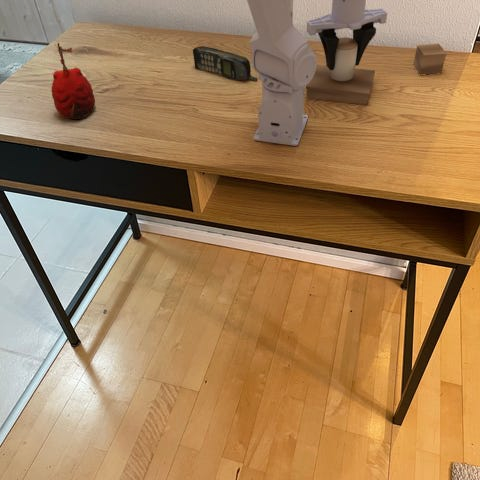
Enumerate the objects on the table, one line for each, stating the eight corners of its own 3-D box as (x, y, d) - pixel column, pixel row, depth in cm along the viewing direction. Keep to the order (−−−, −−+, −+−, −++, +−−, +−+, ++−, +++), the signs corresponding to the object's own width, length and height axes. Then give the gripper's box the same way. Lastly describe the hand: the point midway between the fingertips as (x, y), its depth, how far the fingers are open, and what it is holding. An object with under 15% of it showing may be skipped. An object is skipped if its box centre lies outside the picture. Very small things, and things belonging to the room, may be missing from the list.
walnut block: (441, 74, 103) (446, 53, 99) (419, 75, 103) (424, 55, 99) (433, 64, 106) (438, 43, 103) (413, 65, 106) (417, 45, 103)
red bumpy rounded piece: (94, 99, 102) (73, 25, 91) (100, 116, 97) (79, 40, 87) (56, 108, 100) (30, 33, 90) (61, 126, 96) (34, 50, 85)
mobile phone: (189, 48, 106) (250, 62, 99) (198, 42, 107) (258, 56, 101) (193, 70, 109) (252, 85, 103) (201, 64, 111) (259, 79, 105)
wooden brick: (367, 105, 96) (369, 93, 94) (305, 98, 98) (305, 86, 97) (373, 82, 102) (375, 70, 100) (314, 76, 104) (314, 64, 103)
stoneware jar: (358, 77, 96) (362, 45, 92) (336, 83, 96) (340, 50, 91) (346, 67, 100) (350, 34, 95) (325, 72, 99) (328, 39, 94)
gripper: (318, 5, 83) (313, 81, 92) (400, -8, 85) (387, 68, 95) (303, -10, 87) (300, 64, 97) (381, -22, 90) (370, 52, 99)
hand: (342, 65), depth 96 cm, fingers closed on stoneware jar, 4 cm apart
